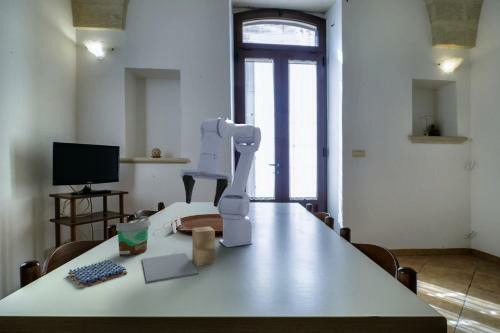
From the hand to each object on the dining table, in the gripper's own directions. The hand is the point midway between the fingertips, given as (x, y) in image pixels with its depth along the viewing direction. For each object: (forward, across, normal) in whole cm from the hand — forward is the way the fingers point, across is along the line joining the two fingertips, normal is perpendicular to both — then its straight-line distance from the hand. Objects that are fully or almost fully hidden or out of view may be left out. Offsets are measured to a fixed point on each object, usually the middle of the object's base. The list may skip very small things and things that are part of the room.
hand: (201, 204), depth 72 cm
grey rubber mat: (+17, -7, +2) cm, 18 cm away
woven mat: (+21, -22, -4) cm, 30 cm away
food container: (+15, -20, +12) cm, 28 cm away
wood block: (+15, +2, +6) cm, 16 cm away
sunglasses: (+8, -22, +39) cm, 45 cm away
